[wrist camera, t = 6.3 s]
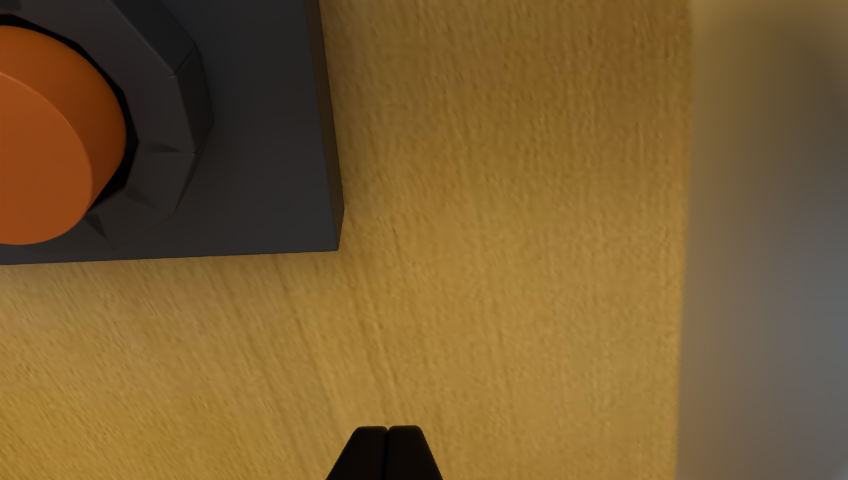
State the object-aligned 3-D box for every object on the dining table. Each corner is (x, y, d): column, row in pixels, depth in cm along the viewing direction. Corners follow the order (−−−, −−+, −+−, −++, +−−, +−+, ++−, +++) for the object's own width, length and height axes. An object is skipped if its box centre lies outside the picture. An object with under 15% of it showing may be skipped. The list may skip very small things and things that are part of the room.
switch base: (297, -178, 15) (265, -161, 12) (345, 209, 21) (332, 293, 17) (-247, -152, 15) (-428, -128, 12) (-51, 226, 21) (-137, 312, 18)
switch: (95, 19, 14) (51, 55, 12) (148, 191, 16) (117, 241, 14) (-103, 28, 14) (-175, 65, 12) (-22, 198, 16) (-73, 250, 14)
